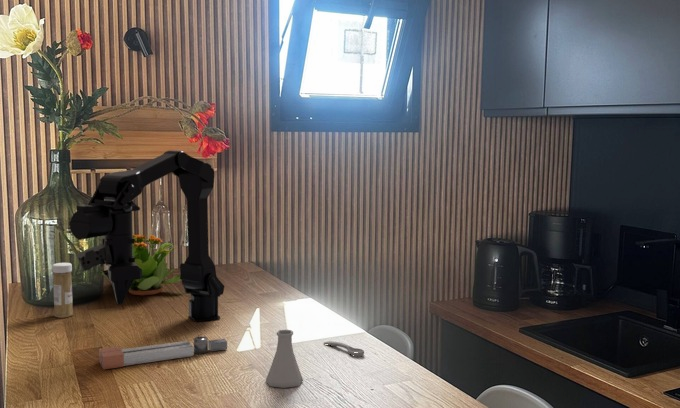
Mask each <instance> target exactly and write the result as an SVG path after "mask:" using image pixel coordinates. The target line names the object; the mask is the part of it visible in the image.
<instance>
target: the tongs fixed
mask: <svg viewBox="0 0 680 408" xmlns="http://www.w3.org/2000/svg"><path fill="white" fill-rule="evenodd" d="M222 350H223V351H225V350H228V341H227V340H226V338H218V339H211V340H208V351H210V352H215V351H216V352H218V351H222ZM189 357H194V345H192V344H191V343H190V344H189V345H182V346H175V347H167V348H160V349H152V350H145V351H137V352H130V353H123V352H122V350H119V351H111V352H104V353H101V363H100V366H101V368H102V369H103V370H110V369H116V368H122V367H125V366H132V365H133V366H134V365H139V364H147V363H153V362H158V361H159V362H160V361H168V360H173V359H180V358H189Z"/></svg>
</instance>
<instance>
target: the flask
mask: <svg viewBox="0 0 680 408" xmlns="http://www.w3.org/2000/svg"><path fill="white" fill-rule="evenodd" d="M293 335H294V331H293V330H291V329H278V330H277V331H276V336H277V344H276V351H275V353H274V357H273V359H272V363H271V366H270V367H269V371H268V374H267V376H266V379H265V382H266V383H267V385H268V386H269V387H275V388H282V389H283V388H284V389H285V388H287V389H288V388H294V387H299V386H300V385H301V384H302V383H303V381H304V379H303V376H302V374H301V370H300V367H299V365H298V362H297V359H296V356H295V353H294V352H295V351H294V349H293V348H294V347H293V342H292V341H293V340H292V339H293V338H292V337H293Z"/></svg>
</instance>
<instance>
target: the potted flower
mask: <svg viewBox="0 0 680 408" xmlns="http://www.w3.org/2000/svg"><path fill="white" fill-rule="evenodd" d="M133 238H134V239H135V243H134V244H133V256H134V257H135V262H132V263H135V264H137V265H138V266H139V267H140V268H141V269H142V279H135V280H133V282H132V285H131V287H130V289H129V291H128V293H130V294H131V295H135V296H152V295H153V296H154V295H156V294H160V293H161V292H163V289H164V285H169V284H170V285H171V284H174V283H178V282H180V281H181V282H182V280H181V279H180V274H179V275H174V276H172V277H170V278H168V279H166V280H165V278H166V277H167V276H169V275H170V274H171V273H172V272H174V270H175V269H174V268H172V269H170V271H168V270H169V268H168V262H166V261H165V259H166V258H167V256H168V255H169V253H171V251H172V250H173V249H174V248H175V244H174V245H173V244H172V243H170V242H164V243H163V240H162V238H159V237H157V236H156V235H153V234H150V237H148V238H147V237H146V236H145V235H143V234H134V233H133ZM145 242H147V243H145ZM160 243H162V244H160ZM148 245H149V248H147V247H148ZM157 245H158V246H159V248H158V249H157V250H155V251H154V250H153V249H155V248H156V247H157ZM169 247H171V248H170V249H167V248H169ZM153 251H154V254H153ZM100 271H101V270H100ZM101 272H102V274H101V275H102V276H104V277H106V275H105V274H104V273H103V270H102V271H101ZM107 281H108V282H110V283H111V284H112V282H111V280H109V279H108V278H107Z"/></svg>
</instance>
